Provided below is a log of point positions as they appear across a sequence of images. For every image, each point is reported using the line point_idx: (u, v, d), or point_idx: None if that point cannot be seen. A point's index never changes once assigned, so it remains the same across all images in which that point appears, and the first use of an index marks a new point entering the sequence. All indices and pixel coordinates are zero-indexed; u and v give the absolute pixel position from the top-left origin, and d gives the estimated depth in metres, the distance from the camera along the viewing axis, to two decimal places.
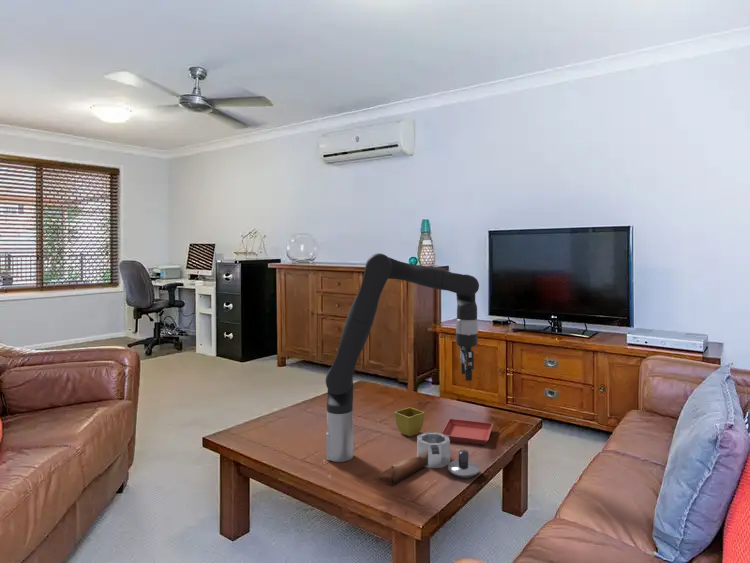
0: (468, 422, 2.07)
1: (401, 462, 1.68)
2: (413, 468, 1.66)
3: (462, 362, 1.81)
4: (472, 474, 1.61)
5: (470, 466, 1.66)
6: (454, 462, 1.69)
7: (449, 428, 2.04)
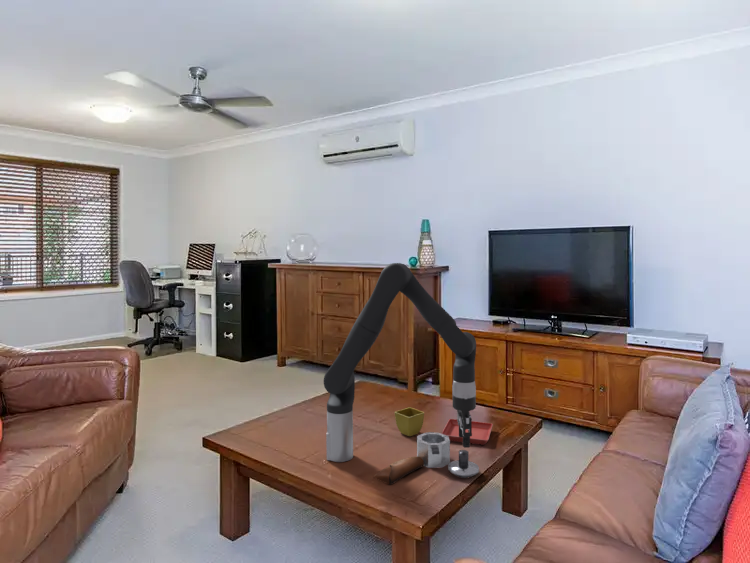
0: None
1: (399, 461, 1.68)
2: (412, 468, 1.66)
3: (459, 424, 1.69)
4: (472, 474, 1.61)
5: (470, 466, 1.66)
6: (454, 462, 1.69)
7: (449, 428, 2.04)
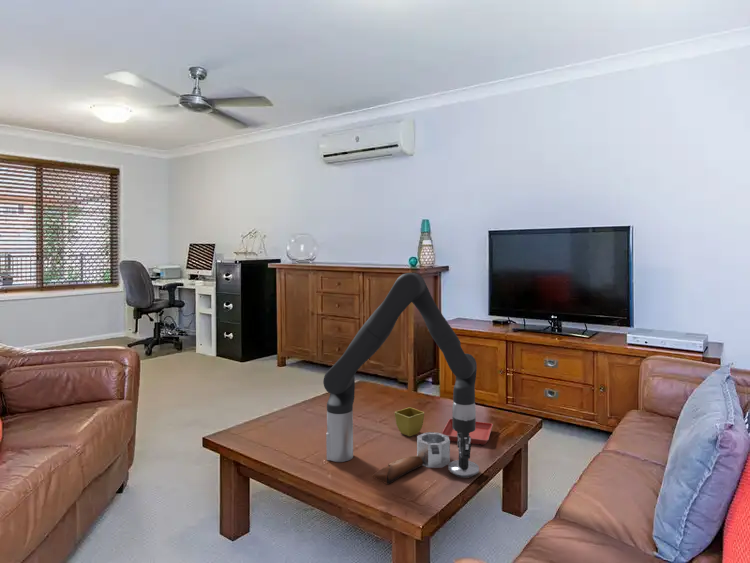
0: None
1: (398, 461, 1.69)
2: (410, 467, 1.66)
3: None
4: (472, 474, 1.61)
5: (470, 465, 1.66)
6: (454, 462, 1.69)
7: (449, 428, 2.04)
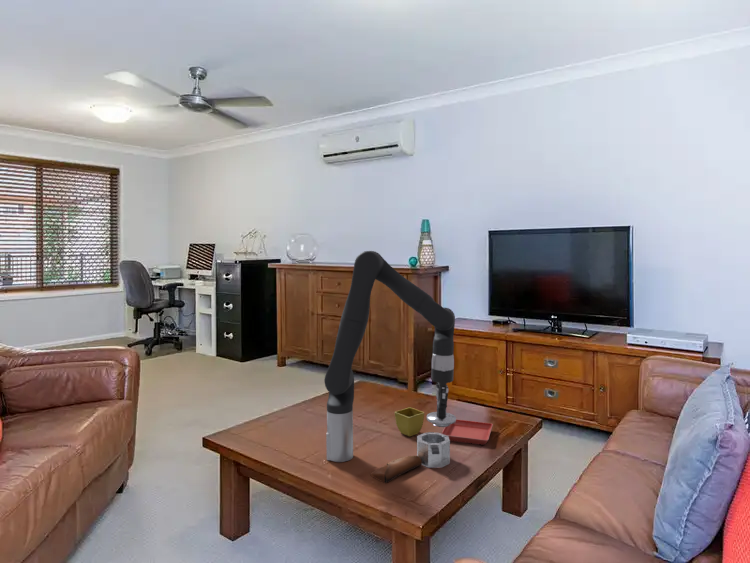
0: (468, 422, 2.07)
1: (397, 460, 1.69)
2: (408, 467, 1.67)
3: None
4: (449, 423, 1.67)
5: (448, 416, 1.72)
6: (433, 413, 1.75)
7: (449, 428, 2.04)
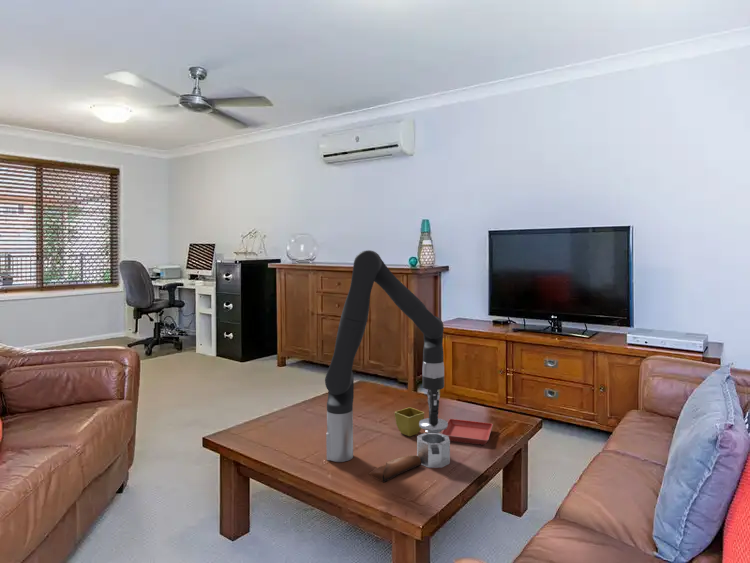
0: (468, 422, 2.07)
1: (396, 460, 1.70)
2: (407, 466, 1.67)
3: (430, 408, 1.77)
4: (441, 429, 1.71)
5: (440, 422, 1.76)
6: (425, 419, 1.78)
7: (449, 428, 2.04)
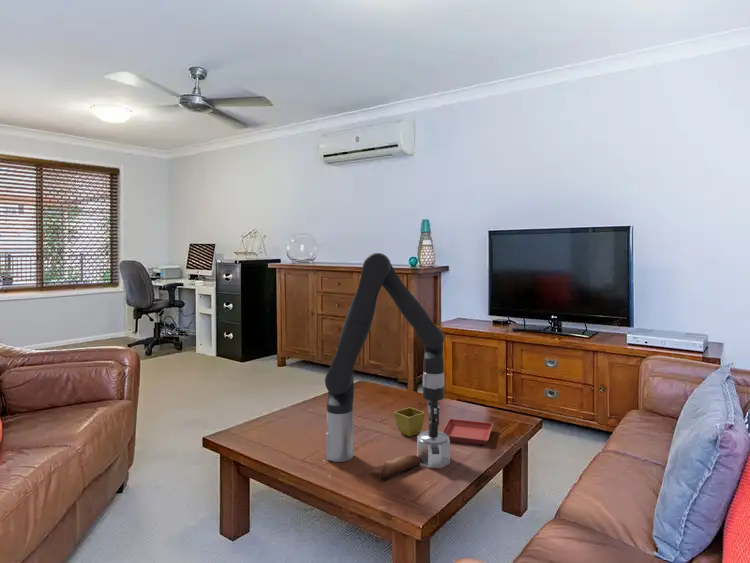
0: (468, 422, 2.07)
1: (395, 459, 1.70)
2: (406, 466, 1.68)
3: None
4: (440, 442, 1.71)
5: (440, 435, 1.76)
6: (425, 432, 1.79)
7: (449, 428, 2.04)
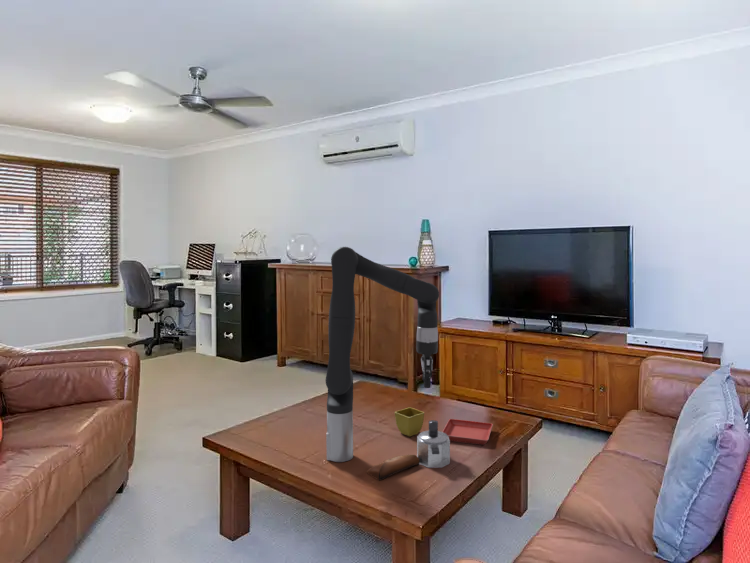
0: (468, 422, 2.07)
1: (394, 458, 1.71)
2: (405, 465, 1.68)
3: None
4: (440, 442, 1.71)
5: (440, 435, 1.76)
6: (425, 432, 1.79)
7: (449, 428, 2.04)
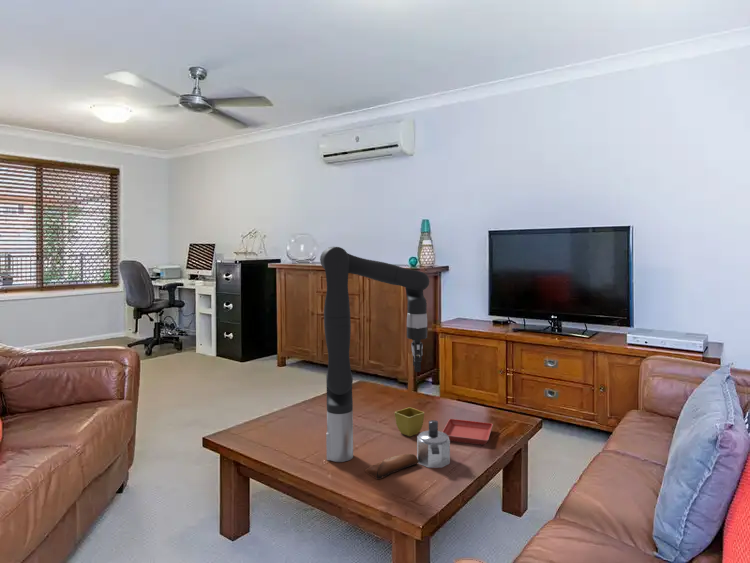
0: (468, 422, 2.07)
1: (392, 458, 1.71)
2: (403, 465, 1.68)
3: None
4: (440, 442, 1.71)
5: (440, 435, 1.76)
6: (425, 432, 1.79)
7: (449, 428, 2.04)
